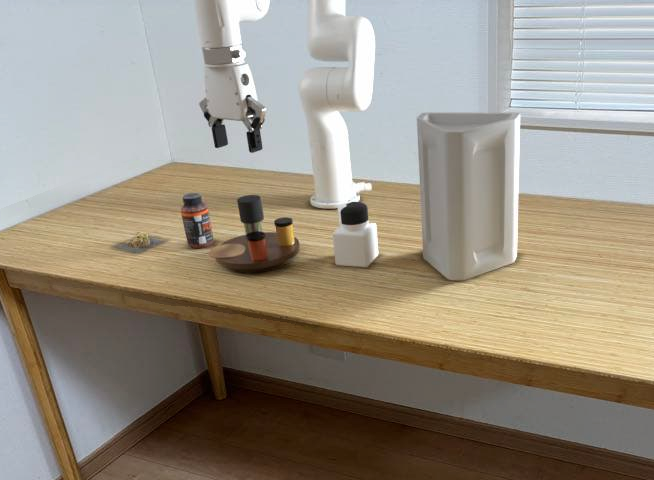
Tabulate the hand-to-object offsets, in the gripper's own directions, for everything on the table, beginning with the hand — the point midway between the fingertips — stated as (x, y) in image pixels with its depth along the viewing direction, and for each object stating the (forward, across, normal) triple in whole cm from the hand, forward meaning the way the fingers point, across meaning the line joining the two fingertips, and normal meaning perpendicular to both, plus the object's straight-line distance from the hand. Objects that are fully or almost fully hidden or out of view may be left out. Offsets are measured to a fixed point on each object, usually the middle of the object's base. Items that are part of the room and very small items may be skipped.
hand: (238, 148), depth 154 cm
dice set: (+23, +31, +6) cm, 39 cm away
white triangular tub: (+23, -43, -16) cm, 51 cm away
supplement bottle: (+23, +17, 0) cm, 29 cm away
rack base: (+23, -2, +1) cm, 23 cm away
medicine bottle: (+23, -21, -9) cm, 33 cm away
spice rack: (+21, -1, +1) cm, 21 cm away
